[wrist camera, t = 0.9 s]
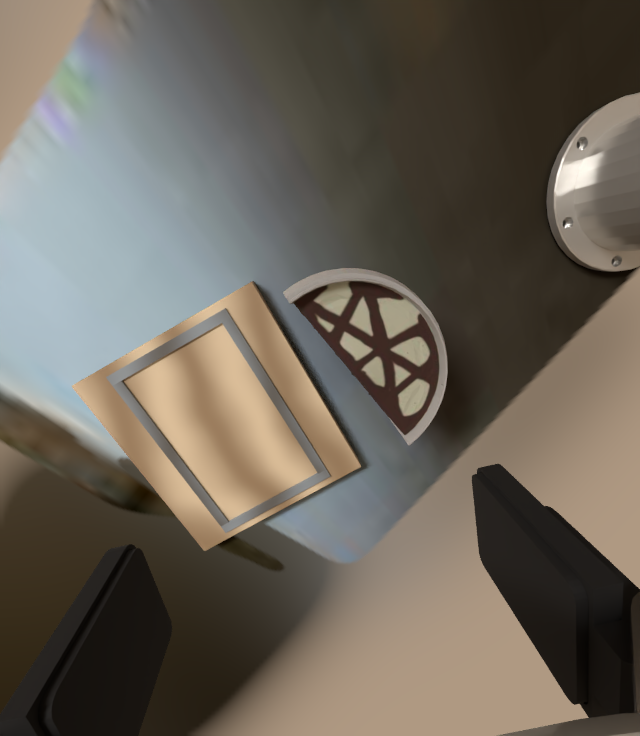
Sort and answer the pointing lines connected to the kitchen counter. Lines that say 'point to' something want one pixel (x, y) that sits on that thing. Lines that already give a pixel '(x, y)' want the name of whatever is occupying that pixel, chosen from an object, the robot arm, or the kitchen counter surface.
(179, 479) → the base board
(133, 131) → the kitchen counter surface
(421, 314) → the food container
